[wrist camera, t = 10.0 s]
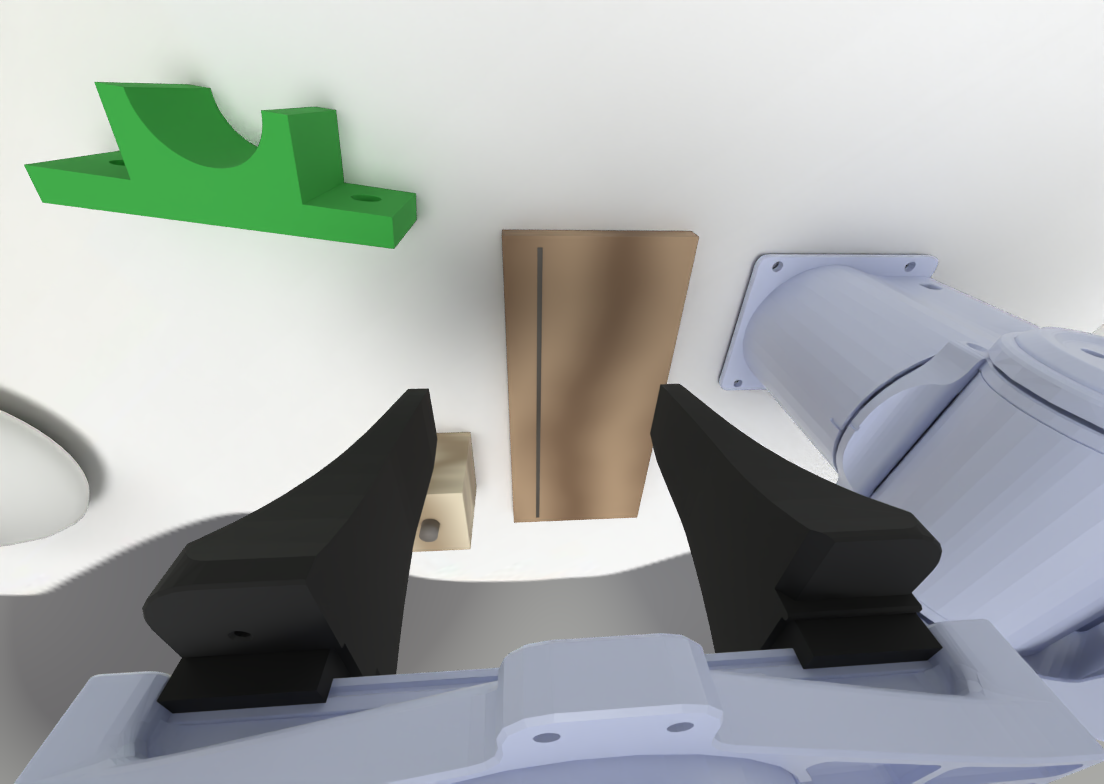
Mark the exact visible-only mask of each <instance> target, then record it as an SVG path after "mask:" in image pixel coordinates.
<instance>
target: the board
mask: <svg viewBox="0 0 1104 784" xmlns="http://www.w3.org/2000/svg"><path fill="white" fill-rule="evenodd" d="M698 240H699V237H698V236H697V235H696V234H695V233H693V232H692V231H599V230H502V251H503V275H504V298H505V322H506V346H507V370H508V393H509V417H510V441H511V465H512V488H513V512H514V523H515V522H539V521H563V520H587V519H611V518H635V517H637V515H638V511H639V506H640V502H641V497H642V493H643V488H644V484H645V479H646V475H647V470H648V466H649V461H650V457H651V452H652V448H653V444H652V440H651V436H650V431H651V427H652V422H653V417H654V412H655V408H656V403H657V398H658V393H659V389H660V384H667V380H668V375H669V371H670V366H671V362H672V357H673V353H674V348H675V344H676V339H677V335H678V330H679V326H680V321H681V317H682V312H683V307H684V303H685V298H686V294H687V289H688V285H689V280H690V276H691V271H692V267H693V262H694V258H695V253H696V249H697V244H698Z"/></svg>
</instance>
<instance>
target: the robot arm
mask: <svg viewBox="0 0 1104 784" xmlns="http://www.w3.org/2000/svg"><path fill="white" fill-rule="evenodd" d="M778 261H779V264H778V266H777V267H776V268H775V269H772V267H773V265H774V264H775V263H776V262H778ZM908 263H909V265H908V266H907V267H906V268H905V266H906V265H907V264H908ZM937 265H938V259H937V258H936V257H934V256H931V255H851V254H766V255H763V256H761V257H760V258H759V259H758V260H757V261H756V263H755V266H754V269H753V272H752V276H751V279H750V282H749V285H748V289H747V292H746V295H745V298H744V302H743V305H742V308H741V311H740V315H739V318H738V321H737V324H736V328H735V331H734V334H733V337H732V341H731V344H730V347H729V350H728V354H727V357H726V360H725V364H724V367H723V370H722V373H721V377H720V380H719V384H720V386H721V387H722V388H723V389H724V390H759V389H767V390H768V391H769V393H770V394H771V395H772V396H773V397H774V398H775V400H776V401H777V402H778V403H779V404H780V406H781V407H782V408H783V409H784V410H785V411H786V413H787V414H788V415H789V416H790V417H791V419H792V420H793V421H794V422H795V423H796V425H797V426H798V427H799V428H800V429H801V430H802V432H803V433H804V434H805V435H806V436H807V438H808V439H809V440H810V441H811V442H812V443H813V445H814V446H815V447H816V448H817V449H818V451H819V452H820V453H821V454H822V455H823V456H824V458H825V459H826V460H827V461H828V462H829V464H830V465H831V466H832V467H833V468H834V469H835V471H836V472H837V473H838V474H839V477H838V481H837V484H834V483H832V482H830V481H828V480H825V479H823V478H821V477H819V476H817V475H815V474H813V473H811V472H809V471H807V470H805V469H803V468H801V467H799V466H797V465H795V464H793V463H791V462H789V461H787V460H786V459H784V458H782V457H780V456H779V455H777V454H775V453H774V452H772V451H770V450H769V449H767V448H765V447H764V446H762V445H760V444H759V443H757V442H756V441H754V440H753V439H751V438H750V437H748V436H747V435H746V434H744V433H743V432H741V431H740V430H738V429H737V428H736V427H734V426H733V425H731V424H730V423H729V422H727V421H726V420H725V419H723V418H722V417H721V416H720V415H718V414H717V413H716V412H714V411H713V410H712V409H711V408H709V407H708V406H707V405H706V404H704V403H703V402H702V401H701V400H699V399H698V398H697V397H696V396H694V395H693V394H692V393H691V392H689V391H688V390H687V389H686V388H684V387H683V386H682V385H680V384H660V389H659V393H658V398H657V403H656V408H655V412H654V417H653V422H652V427H651V431H650V436H651V440H652V444H653V448H654V452H655V456H656V460H657V463H658V465H659V468H660V470H661V473H662V475H663V478H664V480H665V483H666V485H667V487H668V490H669V492H670V495H671V497H672V500H673V502H674V504H675V507H676V509H677V512H678V514H679V517H680V519H681V522H682V525H683V527H684V530H685V533H686V536H687V540H688V543H689V547H690V550H691V554H692V557H693V561H694V565H695V568H696V572H697V576H698V579H699V583H700V587H701V591H702V595H703V600H704V604H705V608H706V612H707V617H708V621H709V625H710V630H711V635H712V639H713V644H714V649H715V653H712V654H704V652H703V649H702V646H701V645H700V644H698V643H696V642H695V641H693V640H691V639H689V638H687V637H685V636H683V635H678V634H663V633H658V634H641V635H624V636H610V637H609V636H608V637H594V638H593V637H592V638H576V639H561V640H547V641H543V642H537V643H531V644H526V645H524V646H522V647H520V648H518V649H516V650H515V651H513V652H511V653H509V654H508V655H507V656H506V657H505V658H504V660H503V662H502V664H501V666H500V668H486V669H471V670H457V671H441V672H426V673H411V674H396V669H397V661H398V651H399V643H400V634H401V627H402V619H403V610H404V604H405V596H406V590H407V583H408V576H409V570H410V564H411V558H412V551H413V545H414V541H415V536H416V532H417V528H418V524H419V521H420V517H421V513H422V510H423V506H424V502H425V499H426V495H427V492H428V488H429V484H430V480H431V477H432V473H433V469H434V463H435V456H436V448H437V440H438V439H437V433H436V428H435V422H434V416H433V411H432V405H431V399H430V394H429V389H408V390H407V391H406V392H405V393H404V394H403V395H402V396H401V397H400V398H399V399H398V400H397V401H396V402H395V403H394V404H393V405H392V406H391V408H390V409H389V410H388V411H387V412H386V413H385V414H384V415H383V416H382V417H381V418H380V419H379V420H378V421H377V422H376V423H375V424H374V425H373V426H372V427H371V428H370V429H369V430H368V431H367V432H366V433H365V434H364V435H363V436H362V437H361V438H359V439H358V440H357V441H356V442H355V443H354V444H353V445H352V446H351V447H350V448H348V449H347V450H346V451H345V452H344V453H342V454H341V455H340V456H339V457H338V458H336V459H335V460H334V461H332V462H331V463H330V464H328V465H327V466H326V467H324V468H323V469H322V470H320V471H319V472H318V473H316V474H315V475H313V476H312V477H310V478H309V479H307V480H306V481H304V482H303V483H301V484H300V485H298V486H297V487H295V488H294V489H292V490H290V491H289V492H287V493H286V494H284V495H283V496H281V497H279V498H278V499H276V500H274V501H272V502H271V503H269V504H267V505H265V506H264V507H262V508H260V509H258V510H256V511H254V512H253V513H251V514H249V515H247V516H245V517H243V518H241V519H239V520H238V521H235V522H234V523H232V524H229V525H227V526H225V527H223V528H221V529H219V530H217V531H214V532H212V533H210V534H208V535H206V536H204V537H202V538H200V539H198V540H195V541H193V542H191V543H188V544H187V545H186V547H185V548H184V549H183V550H182V552H181V553H180V554H179V556H178V557H177V559H176V560H175V561H174V563H173V564H172V565H171V567H170V568H169V569H168V571H167V572H166V574H165V575H164V576H163V578H162V579H161V581H160V582H159V583H158V585H157V586H156V587H155V589H154V590H153V591H152V593H151V594H150V596H149V597H148V598H147V600H146V602H145V604H144V606H143V608H142V609H143V614H144V619H145V621H146V622H147V624H148V625H149V626H150V627H151V629H152V630H153V631H154V632H155V633H156V634H157V635H158V636H159V637H160V638H161V639H163V640H164V641H165V642H166V643H167V644H168V645H169V646H170V647H171V648H172V649H173V650H174V651H175V652H176V653H178V654H179V655H180V656H181V657H182V659H181V660H180V662H179V664H178V665H177V667H176V669H175V671H174V672H173V674H172V676H171V675H169V674H167V673H162V672H154V671H153V672H152V671H146V672H130V673H115V674H99V675H96V676H93V677H91V678H90V679H89V681H88V682H87V683H86V685H85V686H84V687H83V689H82V690H81V692H80V693H79V694H78V696H77V697H76V699H75V700H74V701H73V703H72V704H71V705H70V707H69V708H68V709H67V711H66V712H65V714H64V715H63V716H62V718H61V719H60V720H59V722H58V723H57V725H56V726H55V727H54V729H53V730H52V732H51V733H50V734H49V736H48V737H47V739H46V740H45V741H44V743H43V744H42V745H41V747H40V748H39V749H38V751H37V752H36V754H35V755H34V756H33V758H32V759H31V760H30V762H29V763H28V765H27V766H26V767H25V769H24V770H23V771H22V773H21V774H20V776H19V777H18V778H17V780H16V781H15V782H14V784H1047V783H1050V782H1052V781H1055V780H1057V779H1060V778H1062V777H1065V776H1067V775H1070V774H1073V773H1075V772H1078V771H1080V770H1083V769H1085V768H1088V767H1091V766H1093V765H1095V764H1098V763H1101V762H1103V761H1104V749H1103V747H1102V746H1101V745H1100V744H1099V743H1098V742H1097V741H1096V740H1100V741H1103V742H1104V337H1103V336H1099V335H1095V334H1091V333H1086V332H1081V331H1076V330H1071V329H1065V328H1056V327H1044V328H1039V327H1038V326H1036V325H1034V324H1032V323H1030V322H1028V321H1026V320H1023V319H1021V318H1019V317H1017V316H1014V315H1012V314H1010V313H1008V312H1005V311H1003V310H1001V309H999V308H997V307H994V306H992V305H990V304H988V303H985V302H983V301H981V300H979V299H976V298H974V297H972V296H970V295H967V294H965V293H963V292H961V291H958V290H956V289H954V288H952V287H950V286H947V285H945V284H943V283H941V282H938V281H936V280H934V279H932V278H931V276H932V274H933V273H934V271H935V269H936V267H937ZM737 380H739V381H738V382H737V383H734V382H735V381H737ZM1095 739H1096V740H1095Z"/></svg>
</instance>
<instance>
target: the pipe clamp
mask: <svg viewBox="0 0 1104 784" xmlns="http://www.w3.org/2000/svg"><path fill="white" fill-rule="evenodd" d="M95 85H96V88H97V91H98V93H99V96H100V99H101V101H102V104H103V107H104V109H105V112H106V115H107V117H108V120H109V123H110V125H111V128H112V131H113V134H114V136H115V139H116V142H117V144H118V147H119V150H120V151H115V152H108V153H101V154H94V155H88V156H81V157H74V158H67V159H60V160H53V161H47V162H40V163H33V164H26V165H24V166H25V168H26V170H27V172H28V174H29V176H30V178H31V180H32V182H33V184H34V186H35V188H36V190H37V192H38V194H39V196H40V198H41V200H42V202H43V203H50V204H58V205H65V206H73V207H81V208H88V209H96V210H103V211H111V212H118V213H126V214H134V215H141V216H149V217H156V218H164V219H171V220H179V221H187V222H194V223H202V224H209V225H217V226H224V227H232V228H240V229H247V230H255V231H262V232H270V233H277V234H285V235H293V236H300V237H308V238H315V239H323V240H330V241H338V242H346V243H353V244H361V245H368V246H376V247H384V248H391V249H394V248H395V247H396V246H397V245H398V243H399V242H400V241H401V239H402V238H403V237H404V236H405V234H406V233H407V232H408V230H409V229H410V228H411V227H412V225H413V224H414V223H415V221H416V220H417V214H416V193H409V192H403V191H396V190H390V189H383V188H376V187H370V186H363V185H357V184H350V183H344V177H343V168H342V159H341V150H340V142H339V133H338V124H337V115H336V110H332V109H326V108H320V107H304V108H289V109H275V110H261V113H262V125H263V126H262V136H261V140H260V143H259V146H258V147H257V146H255V145H253V144H251V143H250V142H248V141H247V140H245V139H244V138H243V137H241V136H240V135H239V134H238V133H237V132H236V131H235V130H234V129H233V128H232V127H231V126H230V125H229V123H228V122H227V121H226V120H225V118H224V117H223V115H222V114H221V112H220V110H219V109H218V107H217V105H216V103H215V100H214V98H213V95H212V92H211V89H210V88H206V87H200V86H195V85H189V84H153V83H114V82H95Z"/></svg>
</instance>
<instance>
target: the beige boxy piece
mask: <svg viewBox="0 0 1104 784" xmlns="http://www.w3.org/2000/svg"><path fill="white" fill-rule="evenodd" d="M437 439H438V440H437V448H436V456H435V463H434V469H433V473H432V477H431V480H430V484H429V488H428V492H427V495H426V499H425V502H424V506H423V510H422V513H421V517H420V521H419V524H418V528H417V532H416V536H415V541H414V545H413V551H412V552H421V551H443V550H464V549H470V548H471V538H472V527H473V517H474V507H475V496H476V478H475V469H474V460H473V452H472V443H471V434H470V432H456V433H437Z"/></svg>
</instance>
